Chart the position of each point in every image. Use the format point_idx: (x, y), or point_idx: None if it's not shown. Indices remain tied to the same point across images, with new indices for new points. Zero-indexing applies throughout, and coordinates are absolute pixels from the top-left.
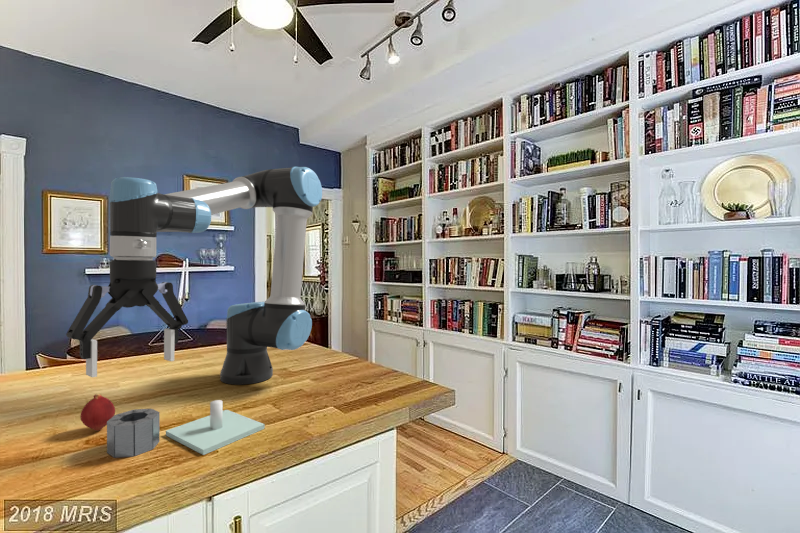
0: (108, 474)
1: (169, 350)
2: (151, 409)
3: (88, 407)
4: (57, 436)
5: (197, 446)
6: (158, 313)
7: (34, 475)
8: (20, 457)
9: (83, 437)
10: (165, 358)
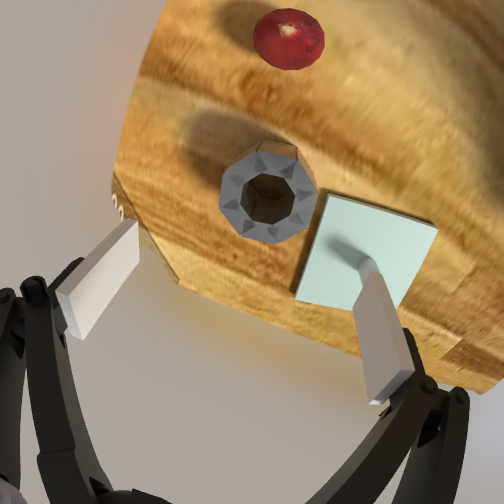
0: (200, 224)
1: (361, 329)
2: (313, 198)
3: (261, 38)
4: (234, 8)
5: (300, 286)
6: (342, 472)
7: (147, 133)
8: (162, 48)
9: (255, 52)
10: (366, 283)
